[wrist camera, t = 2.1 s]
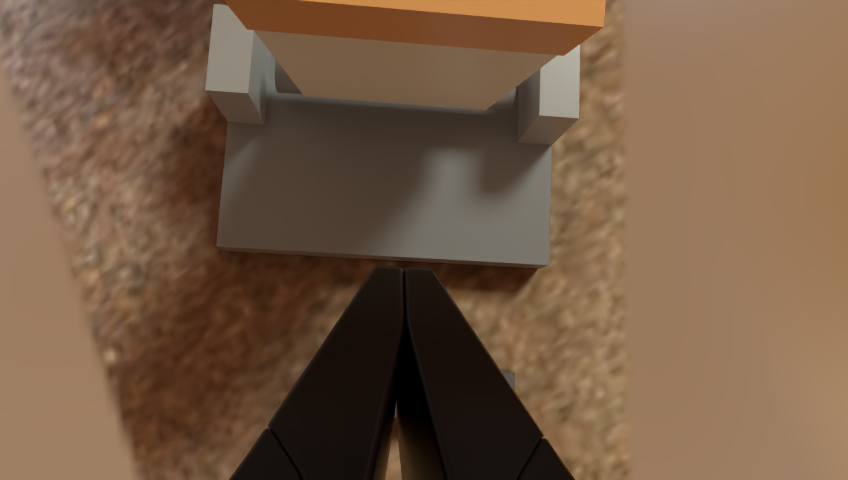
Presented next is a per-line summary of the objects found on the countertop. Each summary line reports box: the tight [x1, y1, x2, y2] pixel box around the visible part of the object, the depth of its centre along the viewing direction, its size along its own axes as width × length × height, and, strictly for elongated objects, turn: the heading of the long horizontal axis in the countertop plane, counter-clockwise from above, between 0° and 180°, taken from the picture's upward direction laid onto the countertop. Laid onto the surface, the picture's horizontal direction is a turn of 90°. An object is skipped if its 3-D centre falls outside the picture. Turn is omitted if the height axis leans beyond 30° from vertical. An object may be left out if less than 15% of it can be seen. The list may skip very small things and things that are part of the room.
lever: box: [224, 0, 606, 110], centre depth 13 cm, size 2×7×11 cm, turn 87°
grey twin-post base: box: [205, 4, 580, 269], centre depth 19 cm, size 12×10×4 cm
